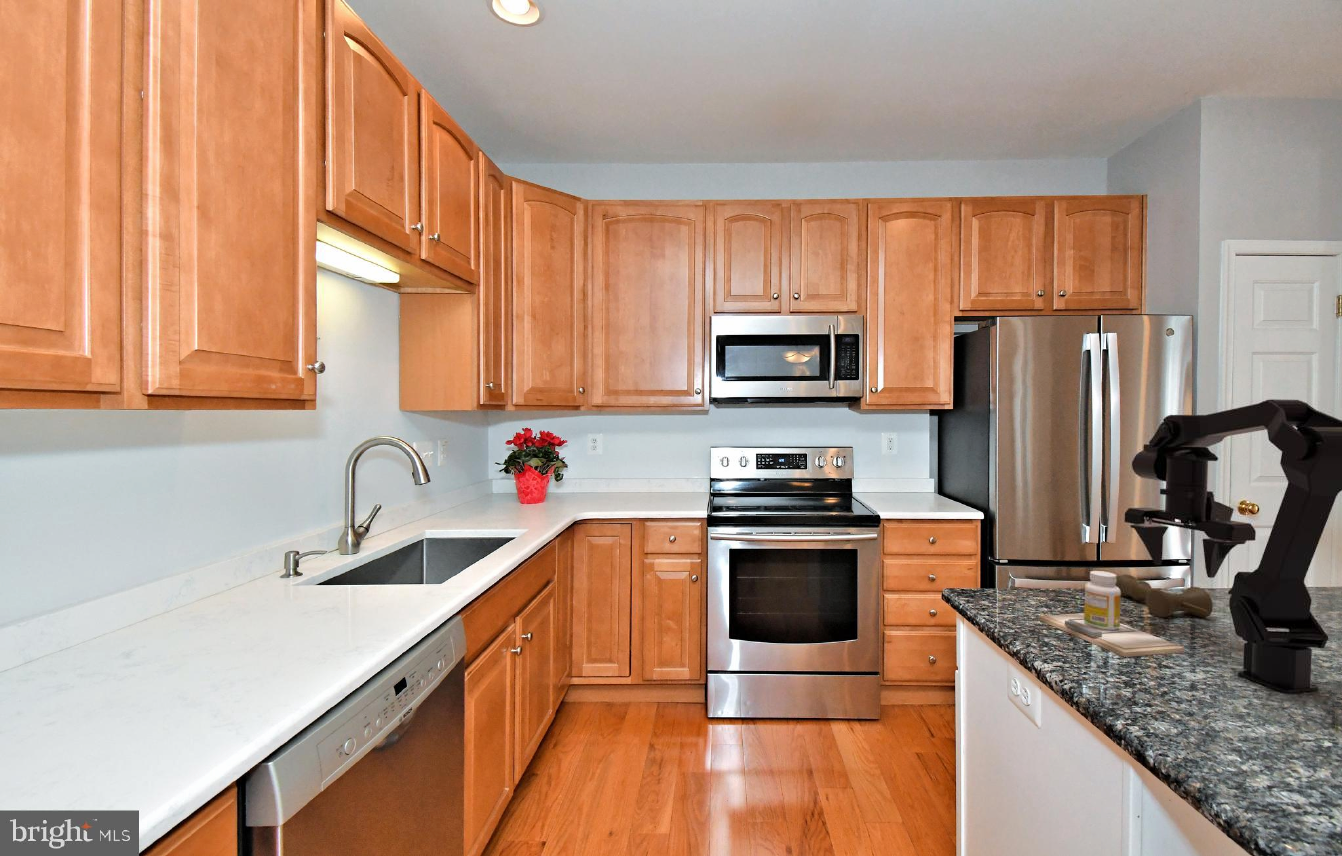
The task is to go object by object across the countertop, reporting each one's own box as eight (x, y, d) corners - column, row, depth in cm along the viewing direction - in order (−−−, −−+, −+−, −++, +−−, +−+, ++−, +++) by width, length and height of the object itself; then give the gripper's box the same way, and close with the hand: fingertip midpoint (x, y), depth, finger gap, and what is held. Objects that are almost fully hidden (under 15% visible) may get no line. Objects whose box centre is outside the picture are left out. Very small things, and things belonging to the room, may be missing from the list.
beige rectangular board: (1184, 652, 103) (1184, 641, 102) (1124, 656, 100) (1125, 645, 100) (1091, 616, 120) (1091, 607, 120) (1038, 619, 118) (1039, 610, 118)
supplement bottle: (1108, 621, 115) (1109, 570, 114) (1126, 631, 109) (1128, 577, 109) (1077, 619, 115) (1079, 569, 115) (1094, 630, 110) (1096, 576, 110)
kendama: (1144, 597, 135) (1232, 627, 115) (1103, 599, 135) (1183, 628, 115) (1144, 571, 135) (1231, 595, 115) (1102, 572, 135) (1183, 597, 115)
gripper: (1282, 490, 102) (1278, 582, 102) (1168, 478, 120) (1166, 556, 121) (1231, 491, 100) (1227, 585, 100) (1123, 479, 118) (1120, 559, 118)
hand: (1183, 570), depth 110 cm, fingers open, 9 cm apart
